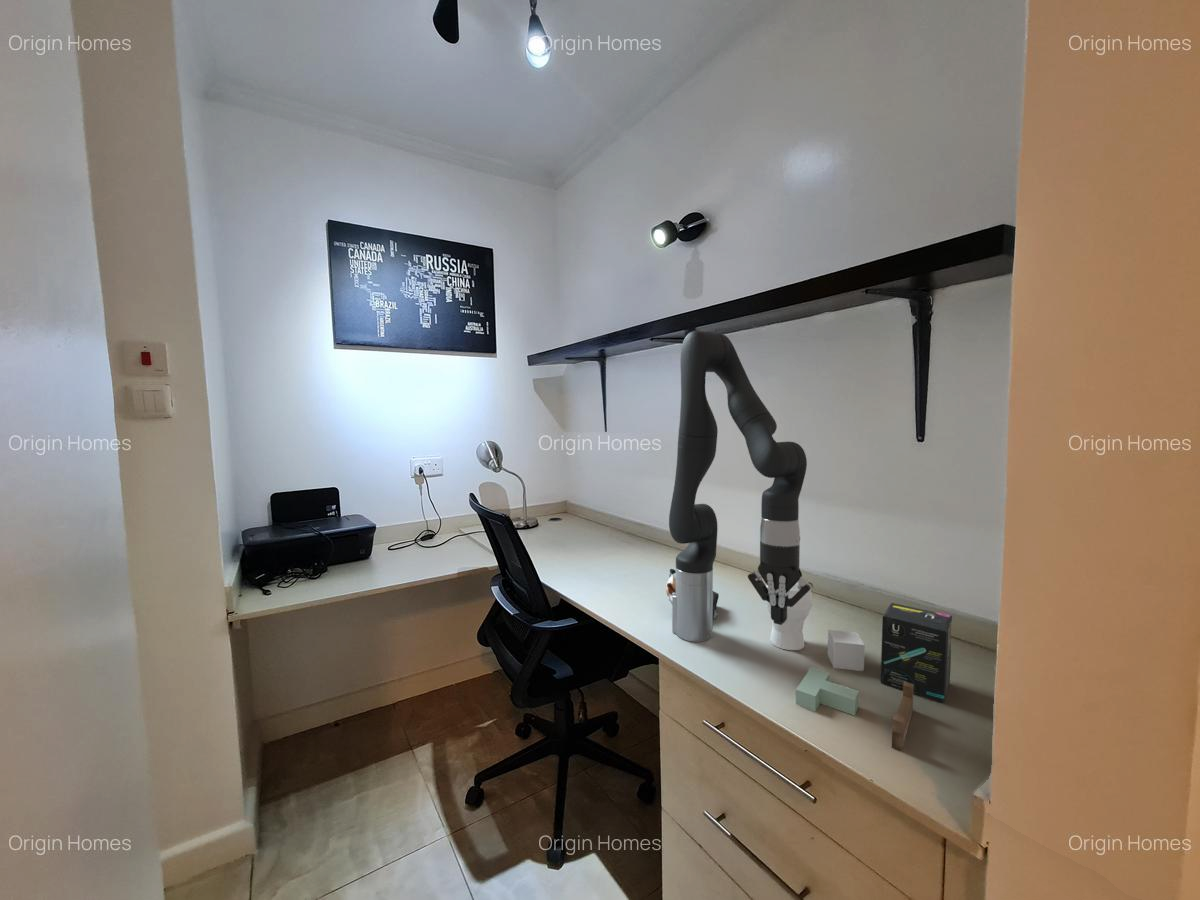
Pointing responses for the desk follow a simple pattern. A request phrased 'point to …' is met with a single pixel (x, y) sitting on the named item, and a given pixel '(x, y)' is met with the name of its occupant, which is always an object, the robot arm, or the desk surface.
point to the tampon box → (916, 650)
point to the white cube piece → (846, 650)
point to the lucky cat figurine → (672, 591)
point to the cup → (792, 622)
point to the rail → (902, 717)
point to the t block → (825, 693)
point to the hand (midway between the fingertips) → (779, 622)
